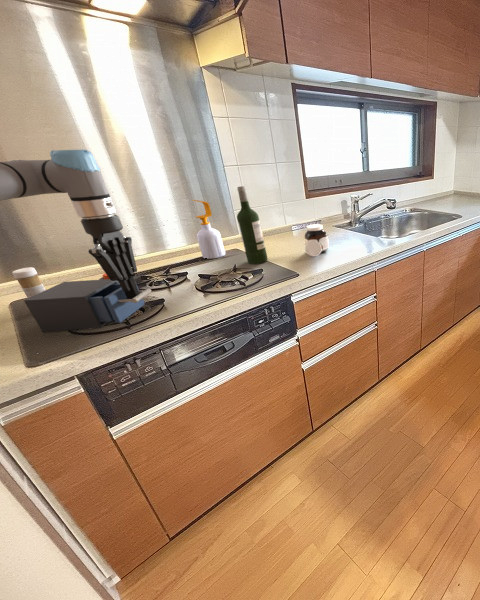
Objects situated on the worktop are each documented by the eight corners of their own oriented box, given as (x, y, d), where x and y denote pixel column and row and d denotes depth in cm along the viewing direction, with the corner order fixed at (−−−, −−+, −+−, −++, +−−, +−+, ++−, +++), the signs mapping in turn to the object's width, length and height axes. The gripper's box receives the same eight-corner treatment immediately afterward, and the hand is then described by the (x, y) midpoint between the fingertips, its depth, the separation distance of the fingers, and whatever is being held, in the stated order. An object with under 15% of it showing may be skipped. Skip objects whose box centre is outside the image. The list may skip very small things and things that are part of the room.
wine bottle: (268, 262, 135) (251, 187, 122) (247, 265, 132) (228, 188, 119) (267, 257, 141) (251, 185, 128) (248, 259, 139) (230, 186, 126)
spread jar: (325, 247, 152) (322, 222, 147) (334, 253, 144) (331, 227, 139) (300, 252, 146) (296, 226, 141) (308, 258, 138) (304, 231, 133)
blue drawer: (161, 303, 100) (152, 279, 96) (139, 321, 90) (127, 296, 86) (98, 307, 98) (86, 283, 95) (67, 326, 88) (53, 300, 85)
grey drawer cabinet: (129, 307, 100) (117, 278, 96) (100, 328, 89) (84, 296, 84) (79, 310, 99) (63, 281, 94) (42, 332, 87) (23, 300, 83)
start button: (101, 280, 111) (99, 276, 110) (109, 276, 114) (107, 271, 114) (113, 280, 111) (111, 275, 110) (121, 275, 115) (119, 271, 114)
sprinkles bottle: (54, 305, 102) (32, 265, 96) (58, 309, 100) (35, 268, 94) (34, 311, 99) (10, 270, 93) (37, 315, 96) (12, 273, 90)
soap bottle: (199, 257, 144) (181, 200, 133) (219, 251, 150) (203, 197, 140) (209, 260, 139) (192, 201, 128) (229, 255, 146) (214, 198, 135)
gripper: (95, 221, 77) (134, 308, 87) (131, 210, 88) (161, 289, 99) (61, 222, 76) (104, 311, 86) (101, 212, 88) (135, 291, 98)
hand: (135, 299), depth 92 cm, fingers closed
